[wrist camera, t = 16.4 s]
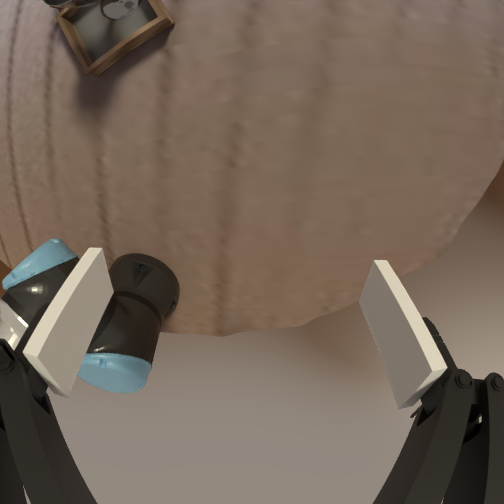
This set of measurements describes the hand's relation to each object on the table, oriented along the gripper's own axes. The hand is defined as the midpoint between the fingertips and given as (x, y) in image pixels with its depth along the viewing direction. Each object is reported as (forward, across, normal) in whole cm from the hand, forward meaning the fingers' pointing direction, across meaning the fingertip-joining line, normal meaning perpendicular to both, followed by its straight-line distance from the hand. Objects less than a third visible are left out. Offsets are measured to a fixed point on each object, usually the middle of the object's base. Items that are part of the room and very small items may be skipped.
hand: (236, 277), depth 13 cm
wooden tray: (+32, -22, +23) cm, 45 cm away
